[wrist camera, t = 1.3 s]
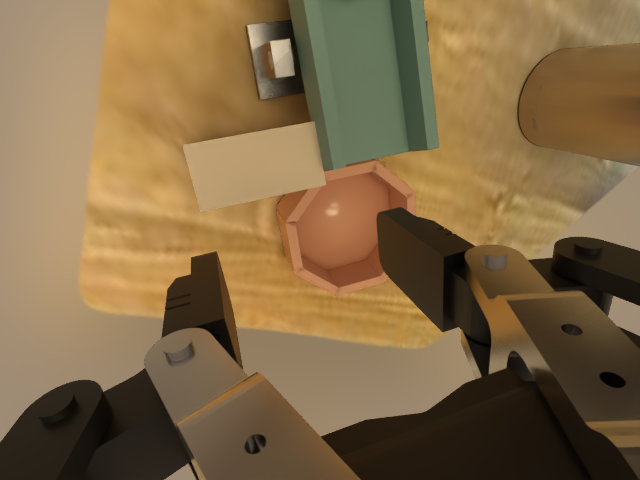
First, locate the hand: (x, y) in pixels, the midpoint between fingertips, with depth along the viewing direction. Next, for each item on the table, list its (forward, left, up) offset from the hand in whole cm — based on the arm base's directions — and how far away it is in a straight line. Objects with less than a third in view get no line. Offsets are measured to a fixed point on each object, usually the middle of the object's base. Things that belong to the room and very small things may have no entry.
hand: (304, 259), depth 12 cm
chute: (-4, -5, -17) cm, 18 cm away
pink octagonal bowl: (-8, +8, -21) cm, 24 cm away
